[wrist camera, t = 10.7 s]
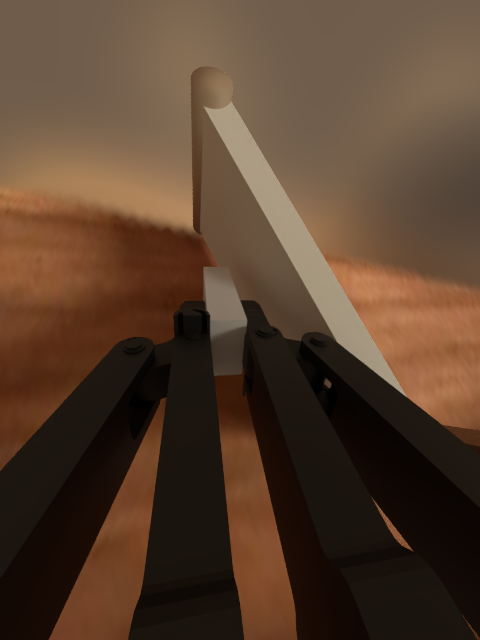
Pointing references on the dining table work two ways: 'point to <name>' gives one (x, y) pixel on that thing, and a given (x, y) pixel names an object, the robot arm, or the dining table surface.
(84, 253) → the dining table surface
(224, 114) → the gate panel
